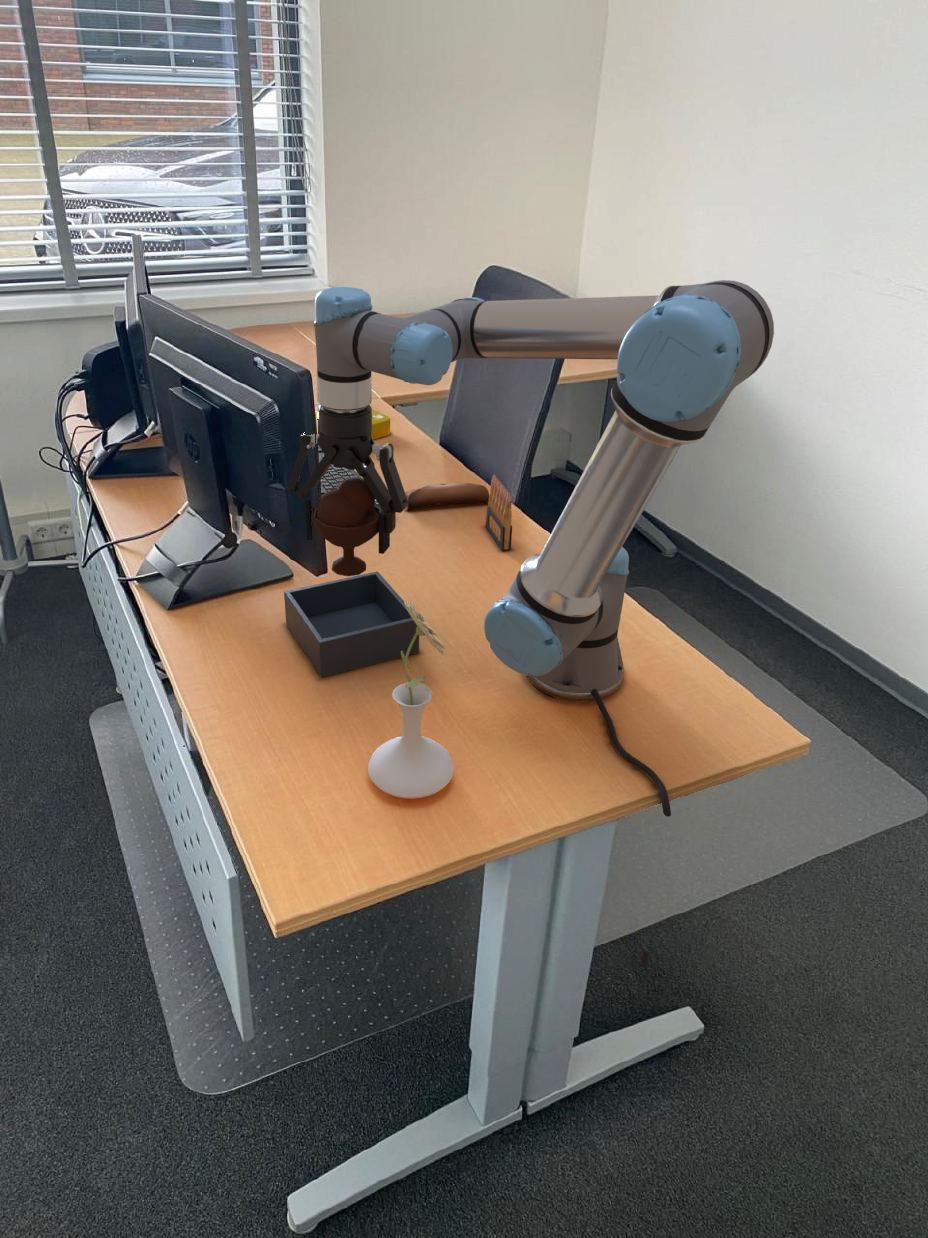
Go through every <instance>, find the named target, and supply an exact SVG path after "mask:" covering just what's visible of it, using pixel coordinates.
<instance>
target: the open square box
mask: <svg viewBox="0 0 928 1238" xmlns="http://www.w3.org/2000/svg"><path fill="white" fill-rule="evenodd" d="M283 598H284V599H283V600H284V614H285V625H286V627H287V628H288V630H289V631H290V633H291V634H292V636H293V637H294V639H295V640H296V641H297V643H298V645H299V646H300V648H301V649H302V651H303V652H304V654H305V656H306V657H307V658H308V660H309V661H310V663H311V664H312V667H313V668H314V669H315V670H316V672H317V673H318V675H319V677H320V678H327V677H330V676H334V675H338V674H341V673H345V672H349V671H354V670H357V669H361V668H365V667H368V666H372V665H376V664H380V663H384V662H389V661H392V660H396V659H400V658H402V656H401V651H403V653H404V655H405V656H406V653H407V650H408V648H409V645H410V643H411V641H412V639H413V637H414V635H415V633H416V628H417V625H416V623H415V622H414V620H413V619H412V617H411V616H410V614H409V612H408V611H407V609H406V607H405V604H404V602H405V601H404V599H403V598H402V597H401V596H400V594H398V592H396V591H395V589H394V588H393V587H392V586H391V585H390V584H389V582H388V581H387V580H386V579H385V578H384V577H383V575H382V574H381V573H379V571H373V572H367V573H364V574H363V573H362V574H359V575H354V576H348V577H345V578H340V579H335V580H331V581H326V582H321V583H317V584H311V585H307V586H302V587H297V588H293V589H288V590H284V591H283ZM419 653H420V635H418V636H417V637H416V639H415V641H414V643H413V646H412V648H411V650H410V653H409V655H408V656H410V655H415V654H419Z"/></svg>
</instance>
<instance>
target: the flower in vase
mask: <svg viewBox="0 0 928 1238" xmlns="http://www.w3.org/2000/svg"><path fill="white" fill-rule="evenodd" d="M404 604H405V607H406V609H407V611H408V612H409V614H410V616H411V617H412V619H413V620H414V622H415V623H416V625H417V628H416V633H415V635H414V637H413V639H412V641H411V643H410V645H409V648H408V650H407V653H406V656H405V655H404V653H403V651H401V656H402V657H401V659H402V661H403V663H404V669H405V676H406V681H407V682H404V683H401V684H399V685H398V686H396V687H395V688H394V689H393V690H392V694H391V696H392V699H393V700H394V701H395V702H396V703H397V704H398V706H399V708H400V711H401V716H402V725H403V726H402V734H401V735H399V736H396V737H393V738H391V739H389V740H387V741H385V742H384V743H382V744H381V745H379V746H378V747H377V748H376V749H375V750H374V751H373V753H372V755H371V756H370V759H369V760H368V765H367V772H368V777H369V778H370V780H371V781H372V783H373V784H374V785H375V786H376V787H377V788H378V789H379V790H381V791H382V792H383V793H385V794H387V795H389V796H392V797H395V798H400V799H408V800H413V799H415V800H417V799H424V798H427V797H430V796H433V795H435V794H437V793H438V792H440V791H441V790H442V789H444V788H445V787H446V786H447V785H448V784H449V783H450V782H451V780H452V778H453V776H454V774H455V773H454V772H455V764H454V761H453V758H452V756H451V754H450V753H449V751H448V750H447V749H446V747H444V746H443V745H442V744H440V743H438V742H437V741H435V740H433V739H431V738H429V737H426V736H422V731H421V725H422V724H421V723H422V715H423V712H424V709H425V706H426V705H427V704H428V703H430V702H431V700H432V698H433V691H432V690H431V688H430V687H428V686H427V685H426V684H423V683H424V682H425V681H426V678H425V677H424V676H418V677H415V678H413V679H412V680H411V679H410V673H409V670H411V665H410V663H409V656H410V655H409V653H410V650H411V648H412V646H413V643H414V641H415V639H416V637H417V636H418V635H419V636H422V637H423V636H424V637H425V638H426V640H427V641H428V642H429V643H430V644H431V646H433V647H434V649H436V651H437V652H438V653H439V654H440V655H442V656H444V655H445V653H446V651H445V648H446V646H445V645H444V643H443V642H441V641H440V640H439V639H438V638H437V637H436V636H437V632H436V631H435V630H434V628H432V627H430V626H428V624H427V623H426V619H425V617H424V615H423V614H422V612H421V611H420V610H419V611H418V610H417V609H416V606H415V605H414V603H413V602H412V601H411V600H410V601H409V602H408V600H406V601H404Z"/></svg>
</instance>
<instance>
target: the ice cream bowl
mask: <svg viewBox="0 0 928 1238" xmlns="http://www.w3.org/2000/svg"><path fill="white" fill-rule="evenodd" d="M381 511H382V508H381V507H380V505H379V504H378V503H376V499H375V497H374V495H373V494H372V492H371V491H370V489H369V487H368V486H367V484H366V482H365V481H364V479H363V478H362V477H361V476H354V477H347V478H346V479H343V480H342V481H341V482H340V483H339V484H338V487H332V488H331V489H330V490H328V491H326V492H324V493H323V494H322V495H321V496H320V497H319V498H318V510H317V511H316V508H313V510H312V515H311V519H312V523H313V526H314V528H315V530H316V531H317V533H318V534H317V535H319V536H321V537H322V538H323V539H324V540H326V541H327V542H329V543H330V544H331V545H333V546H335V547H338V548H341V549H343V550H342V554H343V555H342V556H341V557H339V558H337V559H335V560H333V562H332V565H331V571H332V572H333V573H335V574H336V575H338V576H343V577H353V576H358V575H362V574H363V573H364V572H366V571H367V563H366V561H365V560H363V559H362V558H360V557H359V556H355V548H358V547H360V546H362V545H364V544H365V543H367V542H369V541H370V540H372V539H373V538H374V537H375V536H377V535H379V513H380V512H381ZM317 512H318V513H317Z"/></svg>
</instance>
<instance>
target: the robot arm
mask: <svg viewBox="0 0 928 1238" xmlns="http://www.w3.org/2000/svg"><path fill="white" fill-rule="evenodd" d="M373 308H374V307H373V305H372V296H371V295H370V293H368V292H367V291H365V290H363V289H362V288H358V287H350V286H333V287H329V288H324V289H322V290H320V291H319V292H318V293H317V294H316V295H315V299H314V321H313V326H314V327H313V328H314V338H315V339H314V340H315V352H316V354H315V355H316V380H317V381H316V383H317V386H316V387H317V402H318V404H319V406H318V408H317V412H318V415H319V430H320V434H318V433H313V435H312V434H311V435H306V434H304V433H302V434H303V435H302V434H301V435H300V436H299V437H298V453H297V456H296V458H295V463H294V466H293V469H292V472H291V475H290V478H289V480H288V483H287V488H286V491H287V492H288V493H289V494H295V495H296V496H297V497H298V498H299V500H300V499H305V498H306V497H307V495H308V494H309V492H310V491H311V490H312V488H313V487H314V486H315V485H316V483H318V482H319V483H320V481H321V480H322V479H323V477H324V476H325V475H326V473H327V472H328V471H329V469H330V467H331V466H332V465H333V467H334V468H338V469H340V468H344V469H347V470H351V471H355V472H356V473H357V474H358V477H360V478H362V479H364V481H365V482H366V484H367V486H368V487H369V489H370V491H371V492H372V494H373V495H374V497H375V501H376V502H377V505H379V506H380V507H381V508H382V511H381V512H380V513H379V532H378V554H381V555H384V554H385V553H386V551H387V550H388V549H389V548H390V547H391V534H392V533H393V531H394V530H395V529H396V524H397V523H396V521H397V520H396V519H397V517H396V514H397V513H398V514H401V513H403V511H404V510H406V509H405V508H406V506H407V505H408V500H407V497H406V494H405V492H406V491H405V488H404V486H403V483H402V480H401V477H400V474H399V471H398V468H397V465H396V462H395V459H394V445H393V444H392V443H390V442H388V443H386V444H380V443H375V441H374V440H373V439H372V409H373V408H372V406H371V404H372V392H373V391H372V389H373V388H372V386H373V385H372V372H373V373H376V374H380V375H384V376H387V377H390V378H393V379H397V380H401V381H403V382H404V383H409V384H414V385H415V384H416V385H417V384H418V385H422V386H423V385H424V386H433V385H436V384H438V383H439V382H441V380H442V379H443V376H444V375H445V376H446V374H447V373H448V371H449V369H450V366H451V363H453V362H457V361H458V360H463V359H531V360H532V359H533V360H534V359H540V360H541V359H542V360H543V359H545V360H547V359H548V360H616V371H617V372H616V373H617V374H618V375H617V377H616V379H615V381H614V383H613V385H612V387H611V390H610V398H611V401H612V403H613V405H614V408H615V411H614V413H613V414H612V416H611V418H610V420H609V422H608V424H607V426H606V428H605V429H604V432H603V433H602V435H601V438H600V439H599V441H598V443H597V444H596V447H595V449H594V451H593V452H592V455H591V457H590V458H589V460H588V462H587V464H586V466H585V468H584V470H583V472H582V473H581V476H580V477H579V480H578V481H577V483H576V485H575V487H574V489H573V491H572V493H571V495H570V497H569V498H568V501H567V502H566V504H565V506H564V509H563V510H562V511H561V514H560V516H559V517H558V520H557V522H556V524H555V526H554V527H553V529H552V531H551V533H550V535H549V537H548V539H547V540H546V542H545V544H544V547H543V548H542V550H541V552H540V553H536V554H533V555H530V556H528V557H527V558H526V559H525V560H524V561H523V563H522V564H521V565H520V568H519V570H518V572H517V574H516V576H515V578H514V580H513V582H512V584H511V585H510V587H509V589H508V591H507V592H506V594H505V595H504V596H503V598H501V599H499V600H497V601H495V602H494V603H493V604H492V606H491V608H490V609H489V610H488V611H487V612H486V615H485V618H484V622H483V630H484V634H485V638H486V641H487V642H488V643H489V647H490V649H491V651H492V652H493V654H494V655H495V656H496V658H498V660H499V661H500V662H501V663H502V664H503V665H505V666H506V667H507V668H509V669H511V670H512V671H514V672H516V673H518V674H520V675H522V676H526V678H527V679H528V680H529V681H530V683H531V684H532V686H534V687H535V688H536V689H538V690H539V691H541V692H542V693H544V694H546V695H548V696H550V697H553V698H556V699H559V700H564V701H569V702H579V703H580V702H585V703H586V702H595V703H596V705H597V708H598V709H599V712H600V714H601V716H602V718H603V720H604V722H605V725H606V728H607V732H608V736H609V739H610V742H611V744H612V746H613V748H614V749H615V751H616V752H617V753H618V754H619V755H620V756H621V757H622V758H623V759H624V760H625V761H627V762H628V763H629V764H631V765H632V766H634V767H635V768H637V769H638V770H640V771H642V772H643V773H644V774H645V775H647V777H649V779H651V781H652V782H653V783H654V785H655V787H656V788H657V790H658V793H659V797H660V802H661V806H662V813H663V815H664V816H665V817H667V818H669V817H671V816H672V811H671V803H670V799H669V793H668V791H667V788H666V786H665V784H664V782H663V781H662V780H661V778H660V777H659V776H658V775H657V773H656V772H655V771H654V770H653V769H652V768H650V767H649V766H648V765H646V764H645V763H644V762H642V761H641V760H639V759H638V758H637V757H635V756H633V755H631V753H629V752H628V751H627V750H626V749H625V748H624V747H623V746H622V745H621V743H620V741H619V739H618V736H617V733H616V728H615V725H614V723H613V720H612V717H611V715H610V713H609V711H608V709H607V707H606V705H605V703H604V701H603V699H605V698H608V697H611V695H613V694H615V693H616V692H617V691H618V689H620V688H621V685H622V684H623V678H624V672H625V667H624V661H623V657H622V652H621V646H620V642H619V638H618V637H619V636H618V635H619V627H620V623H621V616H622V611H623V604H624V597H625V593H626V586H627V580H628V575H629V574H630V571H629V563H630V557H629V555H630V554H629V552H628V551H627V550H626V548H624V544H625V542H626V541H627V540H628V537H629V536H630V534H631V533H632V531H633V529H634V527H635V526H636V524H637V522H638V521H639V519H640V517H641V516H642V514H643V512H644V511H645V508H647V505H648V504H649V502H650V500H651V499H652V497H653V495H654V494H655V492H656V490H657V489H658V488H659V486H660V484H661V482H662V480H663V479H664V477H665V475H666V474H667V473H668V470H669V469H670V467H671V466H672V463H673V462H674V460H675V458H676V457H677V455H678V453H679V452H680V451H681V449H682V447H683V446H684V445H688V444H694V443H697V442H699V441H701V440H702V439H703V438H704V437H705V436H706V433H707V432H708V430H709V429H710V427H711V425H712V424H713V422H714V421H715V419H716V417H717V415H718V414H719V412H720V411H721V410H722V408H723V406H724V404H725V403H726V401H727V399H728V398H729V396H730V395H731V393H732V392H733V390H734V389H735V388H736V387H737V386H739V385H740V384H742V383H743V382H744V381H745V380H747V379H748V378H750V377H751V376H753V374H755V373H756V372H757V371H758V370H759V369H760V368H761V366H762V365H764V362H765V361H766V359H767V357H768V356H769V353H770V351H771V349H772V345H773V341H774V337H775V336H774V335H775V323H774V318H773V314H772V311H771V308H770V306H769V305H768V303H767V301H766V299H765V298H764V297H763V296H762V295H761V294H760V293H759V292H758V291H757V290H756V289H754V288H752V287H751V286H750V285H748V284H745V283H743V282H740V281H737V280H729V279H728V280H727V279H721V280H714V281H709V282H704V283H695V284H685V285H669V286H667V287H665V288H664V289H663V290H662V291H661V293H660V294H659V295H657V294H656V295H630V296H627V295H626V296H597V297H596V296H595V297H568V298H567V297H565V298H538V299H537V298H535V299H532V298H531V299H512V300H511V299H507V300H504V299H503V300H486V301H485V299H483V298H480V297H473V296H472V297H463V298H457V299H454V300H453V301H451V302H449V303H445V304H443V305H440V306H437V307H434V308H430V309H427V310H423V311H420V312H417V313H413V314H410V315H407V316H401V317H400V316H393V315H388V314H384V313H380V312H377V311H373ZM315 434H316V443H315ZM315 444H317V445H318V447H319V448H320V450H321V451H322V453H323V454H324V455H323V457H322V458H321V460H320V461H319V462H318V464H317V466H316V467H315V468H314V470H313V471H312V473H311V474H310V476H309V477H308V479H307V480H306V481H305V483H304V484H303V485H304V486H303V488H302V489H301V491H300V492H299V489H298V487H297V485H298V481H299V478H300V474H301V470H302V467H303V464H304V461H305V459H306V456H307V454H308V449H310V448H311V447H312V449H313V450H314V449H315V448H316V446H315ZM372 454H374V455H375V459H376V460H377V461H379V466H380V470H381V473H382V476H383V478H384V481H383V479H382V477H381V476H380V474H379V472H378V471H377V469H376V467H375V466H376V465H375V462H374V460H373V459H372V457H371V455H372ZM319 479H320V481H319ZM384 482H385V483H384ZM319 483H318V484H319ZM299 507H301V506H300V505H299ZM311 508H312V507H311V501H310V500H309V501H308V500H305V510H306V518H305V528H306V529H305V531H306V540H308V541H312V540H313V539H314V538H313V537H312V526H311V521H312V519H311V515H312V514H311V513H312V511H311ZM301 512H302V511H301V510H300V513H301ZM300 515H301V514H300ZM301 517H302V515H301ZM312 538H313V539H312ZM650 953H651V951H642V953H641V958H640V963H639V966H640V967H641V968H642V969H646V968H647V967H648V962H649V957H650Z"/></svg>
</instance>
